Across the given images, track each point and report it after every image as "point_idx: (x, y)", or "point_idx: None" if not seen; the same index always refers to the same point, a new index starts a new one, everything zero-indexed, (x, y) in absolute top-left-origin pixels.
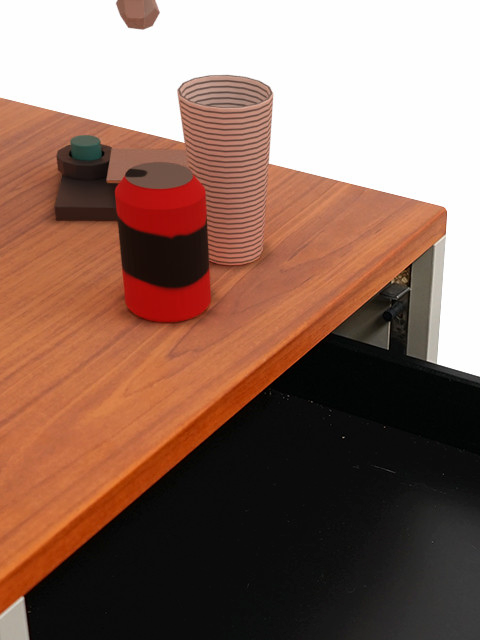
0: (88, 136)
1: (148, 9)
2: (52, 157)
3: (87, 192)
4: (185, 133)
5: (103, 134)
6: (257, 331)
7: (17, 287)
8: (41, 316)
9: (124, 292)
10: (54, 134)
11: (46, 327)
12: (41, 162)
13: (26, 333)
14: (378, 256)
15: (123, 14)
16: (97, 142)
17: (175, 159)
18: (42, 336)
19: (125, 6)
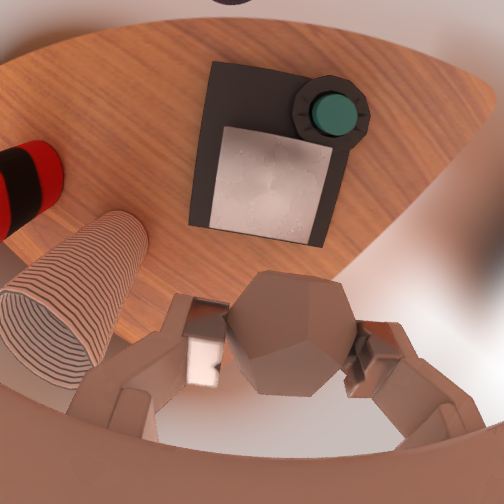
0: (350, 122)
1: (236, 357)
2: (400, 89)
3: (250, 101)
4: (33, 264)
5: (444, 161)
6: (17, 234)
7: (73, 44)
8: (30, 75)
9: (28, 142)
10: (454, 111)
11: (17, 82)
12: (388, 74)
13: (13, 70)
14: (125, 337)
15: (250, 284)
16: (326, 129)
17: (279, 221)
18: (8, 83)
19: (169, 314)
